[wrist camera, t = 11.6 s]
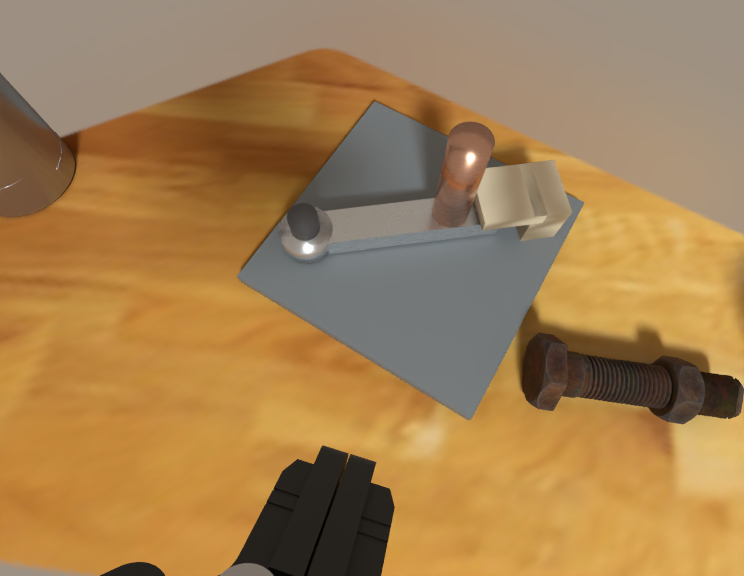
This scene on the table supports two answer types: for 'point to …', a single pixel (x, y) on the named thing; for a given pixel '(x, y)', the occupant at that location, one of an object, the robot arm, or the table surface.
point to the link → (408, 208)
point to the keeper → (523, 199)
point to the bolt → (627, 382)
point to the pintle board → (407, 269)
